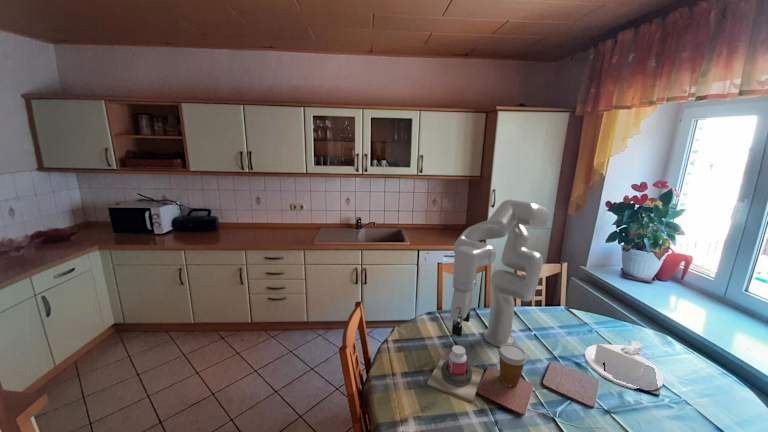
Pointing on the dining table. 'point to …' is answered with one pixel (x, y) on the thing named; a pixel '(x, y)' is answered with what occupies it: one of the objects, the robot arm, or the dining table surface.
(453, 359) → the pill bottle
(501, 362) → the disposable coffee cup
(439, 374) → the socket board
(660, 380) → the dish
